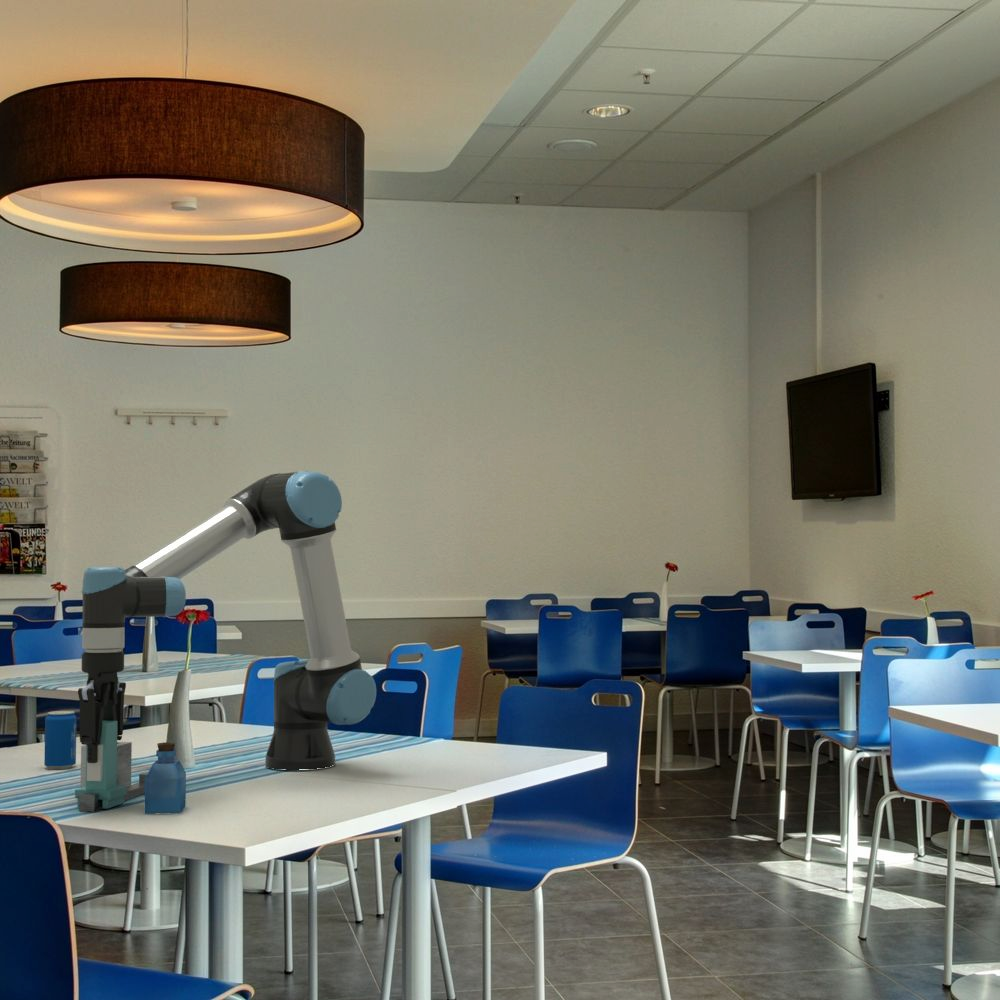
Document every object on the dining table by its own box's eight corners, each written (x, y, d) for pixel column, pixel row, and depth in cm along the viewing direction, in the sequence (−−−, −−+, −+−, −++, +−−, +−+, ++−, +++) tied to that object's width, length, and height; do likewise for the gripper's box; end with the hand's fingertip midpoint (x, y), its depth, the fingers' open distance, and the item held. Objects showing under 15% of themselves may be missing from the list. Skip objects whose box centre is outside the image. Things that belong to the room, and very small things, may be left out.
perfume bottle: (179, 813, 232) (180, 745, 233) (144, 814, 232) (145, 746, 233) (185, 807, 239) (186, 741, 239) (151, 807, 238) (152, 741, 239)
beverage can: (65, 770, 279) (66, 714, 280) (38, 769, 281) (39, 713, 281) (81, 766, 286) (82, 711, 286) (54, 765, 287) (55, 710, 288)
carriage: (126, 802, 241) (127, 720, 242) (110, 808, 235) (111, 724, 236) (91, 801, 242) (93, 719, 243) (74, 807, 237) (76, 723, 237)
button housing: (131, 787, 258) (131, 742, 259) (113, 794, 251) (114, 747, 252) (98, 786, 260) (99, 741, 260) (80, 792, 253) (81, 746, 253)
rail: (156, 788, 257) (156, 773, 257) (94, 811, 234) (94, 795, 234) (142, 788, 258) (142, 773, 258) (79, 811, 234) (79, 794, 234)
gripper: (107, 647, 249) (106, 770, 248) (59, 653, 233) (57, 785, 231) (143, 647, 248) (142, 771, 247) (98, 654, 231) (96, 787, 230)
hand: (101, 778), depth 239 cm, fingers closed on carriage, 4 cm apart
